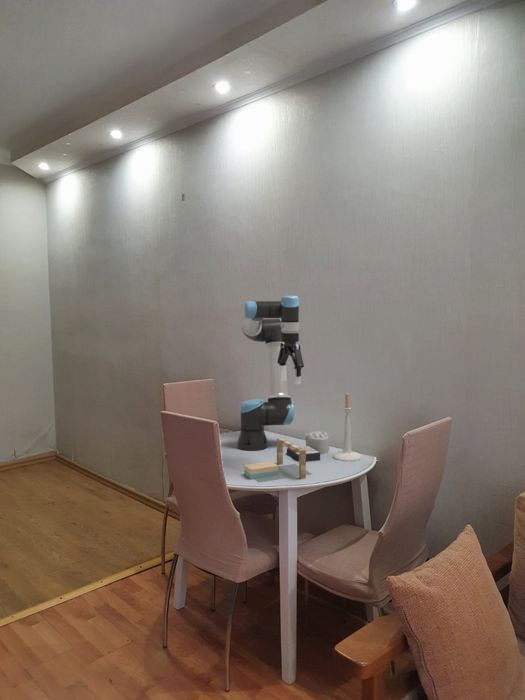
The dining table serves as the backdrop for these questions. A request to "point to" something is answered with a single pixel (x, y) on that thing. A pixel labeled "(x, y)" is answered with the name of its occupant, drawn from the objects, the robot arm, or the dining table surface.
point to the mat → (284, 473)
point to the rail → (299, 450)
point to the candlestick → (347, 437)
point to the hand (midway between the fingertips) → (290, 382)
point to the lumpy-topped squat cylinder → (318, 441)
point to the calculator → (310, 454)
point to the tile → (261, 470)
